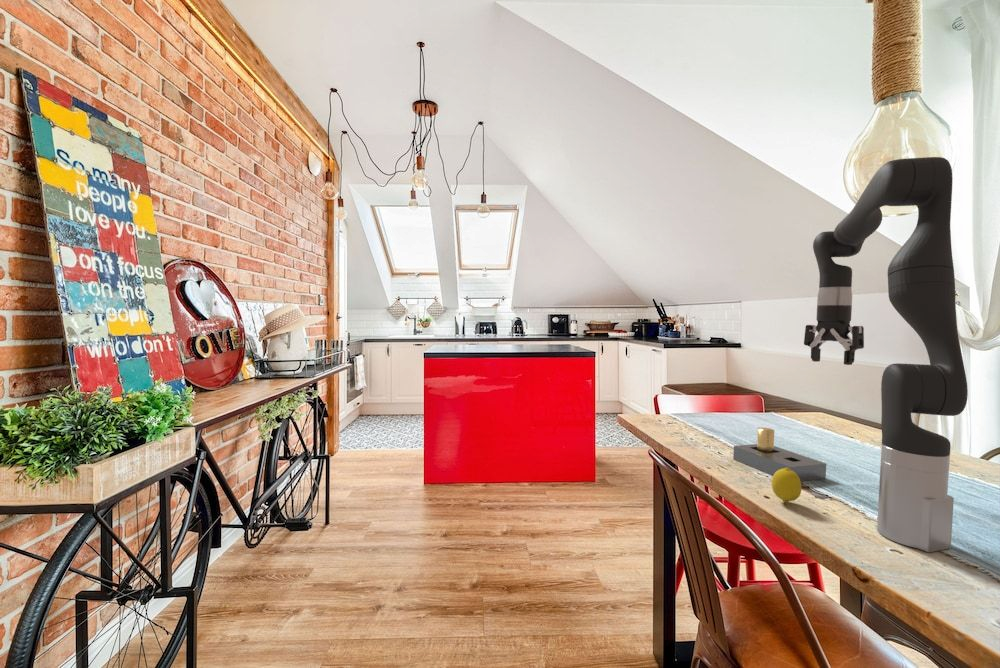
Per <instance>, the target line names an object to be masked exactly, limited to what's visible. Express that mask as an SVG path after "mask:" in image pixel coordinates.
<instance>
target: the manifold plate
mask: <svg viewBox="0 0 1000 668" xmlns="http://www.w3.org/2000/svg"><path fill="white" fill-rule="evenodd" d="M732 457H733V458H732V459H733V460H734V461H736V462H739V463H741V464H744V465H746V466H748V467H752V468H753V469H756V470H758V471H760V472H763V473H766V474H768V475H771V476H772V477H773V476H774V474H775V472H776V471H778V470H780V469H784V468H789V469H790V470H792V471H793V472H795V473H796V474H797V475H798V477H799V478H800V481H801V482H807V481H815V480H826V478H827V477H826V476H827V463H826V462H823V461H820V460H816V459H814V458H811V457H809V456H805V455H803V454H799V453H796V452H793V451H791V450H787V449H784V448H782V447H778V446H775V445H774V451H773V453H766V454H765V453H763V452H760V451H757V443H755V444H751V443H750V444H744V445H743V444H742V445H741V444H740V445H733V456H732Z"/></svg>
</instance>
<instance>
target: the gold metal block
mask: <svg viewBox="0 0 1000 668" xmlns="http://www.w3.org/2000/svg"><path fill="white" fill-rule="evenodd" d="M756 444H757V451H760V452H763V453H765V454H766V453H773V451H774V446H775V445H774V444H775V429H773V428H770V427H762V426H761V427H760V426H759V427H758V428H757V442H756Z"/></svg>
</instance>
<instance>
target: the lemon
mask: <svg viewBox="0 0 1000 668" xmlns="http://www.w3.org/2000/svg"><path fill="white" fill-rule="evenodd" d="M771 479H772V480H771V487H772V491H773V494H774V495H775V496H776V497H777V498H778V499H780V500H781V501H782V502H783V503H785V504H788V503H790V502H793V501H796V500H797V499H798V498H799V497H800V496H801V493H802V481H800V478H799V477H798V475H797V474H796V473H795V472H793V471H792V470H790V469H789V468H784V469H780V470H778V471H776V472H775V474H774V476H773V475H772V478H771Z"/></svg>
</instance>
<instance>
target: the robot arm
mask: <svg viewBox="0 0 1000 668" xmlns="http://www.w3.org/2000/svg"><path fill="white" fill-rule="evenodd" d="M952 197H953V169H952V165H951V163H950V161H949V160H948V159H947V158H945V157H942V156H928V157H911V158H898V159H893V160H892V159H891V160H889V161H887V162H885V163H884V164H883V165H881V166H880V167H879V168H878V169H877V171H876V172H875V173H874V174H873V175H872V178H871V179H870V180H869V182H868V184H867V186H866V187H865V189H864V190H863V191H862V193H861V195H860V197H859V198H858V200H857V202H856V203H855V204H854V206H853V208H852V209H851V211H849V213H848V214H846V216H845V217H844V218H843V219H842V220H840V222H838V224H837V225H836V226H835V228H834V230H833V231H830V230H829V231H828V230H827V231H822V232H820V233H818V234H817V235H816V236H815V237H814V239H813V243H812V249H813V254H814V256H815V259H816V263H817V267H818V272H819V281H818V283H819V284H818V286H819V287H818V288H819V289H818V293H817V299H816V321H817V324H816V325H815V324H806V325H805V329H804V339H803V345H804V346H807V347H809V348H810V359H811V361H812V362H820V361H821V350H822V349H821V346H822V345H824V343H826V342H829V341H830V342H838V344H840V345H841V346H842V348H844V352H843V354H844V355H843V365H846V366H852V365H853V363H854V362H855V359H856V358H855V354H856V351H857V350H863V349H864V348H865V337H864V336H865V332H864V331H865V328H864V326H863V325H853V326H851V324H850V323H851V321H852V312H853V311H852V309H853V306H852V305H853V293H852V292H853V291H852V285H853V284H852V283H853V269H852V268H851V267H850V266H848V265H844V264H838V263H836V262H835V261H834V260H833V258H849V257H853V256H857V254H859V253H860V251H861V250H862V247H863V244H864V242H865V240H866V239H867V238H869V237H870V236H871V235H872V234H873V233H875V231H877V230H878V228H879V227H880V226H881V225H882V222H883V213H882V211H881V208H882V207H886V206H887V207H909V206H911V207H913V206H916V207H917V211H918V215H917V222H916V223H917V224H916V226H915V228H914V230H913V231H912V234H911V235H910V236H909V237H908V239H907V240H906V241H905V243H904V244H903V245H902V246H901V247H900V249H898V251H897V252H896V254H895V255H894V256H893V258H892V260H891V261H890V263H889V265H888V267H887V286H888V287H887V289H888V291H887V292H888V299H889V302H890V303H891V305H892V307H893V308H894V310H895V311H896V312H897V313H898V314H899V315H900V316H901V318H903V320H904V322H906V324H908V325H909V326H910V327H911V328H912V330H914V332H915V333H916V334H917V335H918V336H919V338H920V339H921V341H922V343H923V345H924V347H925V349H926V351H927V355H928V360H929V364H921V363H920V364H919V363H891V364H889V365H888V366H886V367H885V369H884V370H883V373H882V375H881V381H880V382H881V383H880V384H881V387H880V390H881V391H880V393H881V394H880V395H881V397H880V398H881V423H880V424H881V425H880V427H881V449H880V451H881V452H880V465H879V467H880V468H879V482H878V483H879V484H878V487H879V488H878V502H877V504H878V505H877V518H876V519H877V520H876V521H877V525H876V529H877V530H876V531H878V533H879V534H880V535H882V536H883V537H885V538H887V539H889V540H891V541H893V542H895V543H898V544H900V545H903V546H906V547H910V548H914V549H918V550H921V551H924V552H927V553H934V552H938V551H943V550H947V549H951V548H952V533H953V532H952V531H953V517H954V504H955V503H954V501H955V499H954V497H953V496H951V495H949V494H948V493H949V489H948V488H949V477H950V476H949V474H950V461H951V460H950V459H951V442H950V440H949V439H948V438H947V437H946V436H944V435H941V434H938V433H936V432H933V431H930V430H929V429H928V430H927V429H925V428H922V427H920V426H918V425H917V424H916V423H914V421H913V419H912V414H919V415H930V416H931V415H935V416H944V417H945V416H946V417H948V416H949V417H952V416H953V417H954V416H958V415H960V414H962V413H963V412H964V410H966V409H965V408H966V406H967V403H968V397H969V396H968V390H969V389H968V382H967V375H966V369H965V364H964V359H963V353H962V350H961V345H960V338H959V337H960V336H959V331H958V321H957V309H956V308H957V306H956V305H957V304H956V281H955V280H956V278H955V268H954V260H953V259H954V258H953V252H952V251H953V250H952V236H951V235H952V233H951V218H952V217H951V213H952V199H953V198H952ZM816 332H817V334H816ZM849 333H851V337H852V338H851V337H850V335H849Z"/></svg>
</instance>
